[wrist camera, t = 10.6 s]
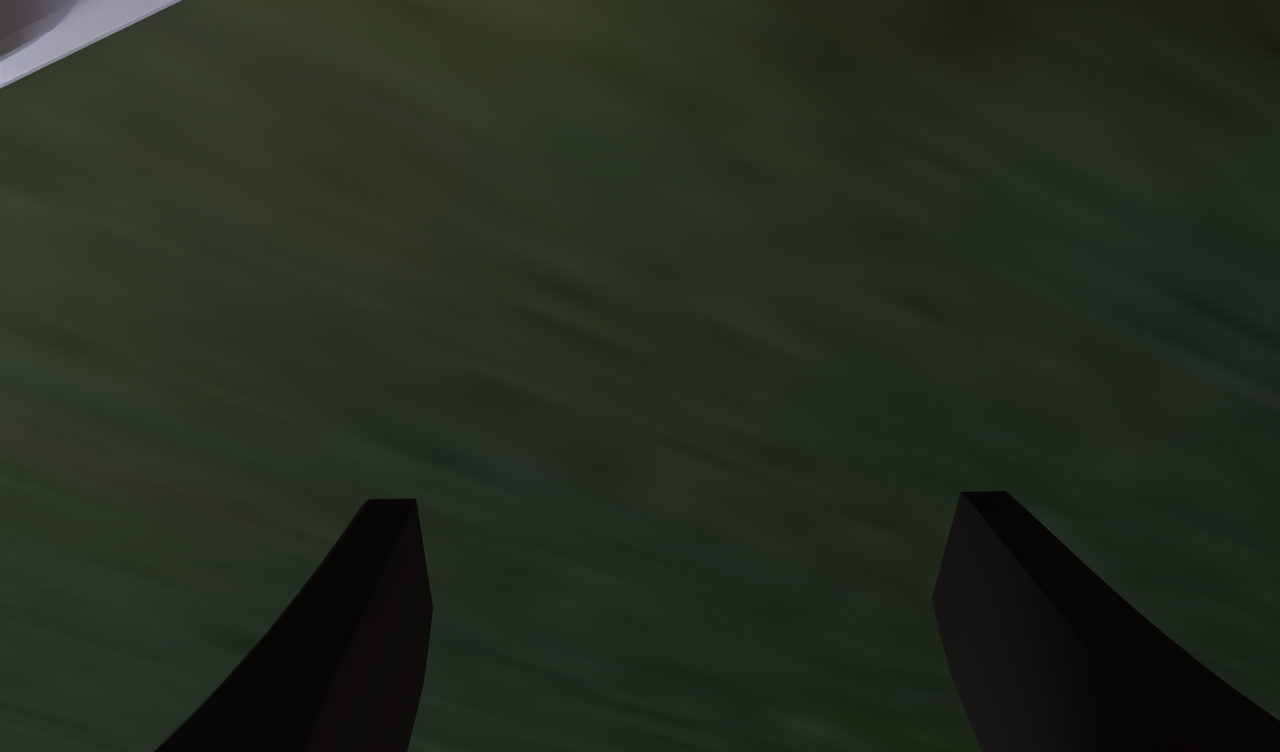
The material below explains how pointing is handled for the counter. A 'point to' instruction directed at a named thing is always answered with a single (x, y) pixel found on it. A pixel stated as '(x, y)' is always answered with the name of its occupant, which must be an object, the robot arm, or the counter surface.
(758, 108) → the counter surface
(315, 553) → the counter surface
